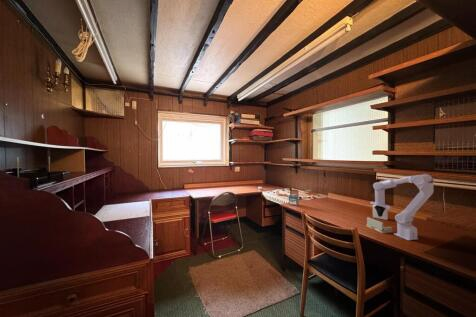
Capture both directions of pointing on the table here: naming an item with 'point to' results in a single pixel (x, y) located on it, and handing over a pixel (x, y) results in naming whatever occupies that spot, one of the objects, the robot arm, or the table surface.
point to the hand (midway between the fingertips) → (380, 216)
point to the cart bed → (385, 230)
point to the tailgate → (375, 223)
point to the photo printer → (384, 216)
